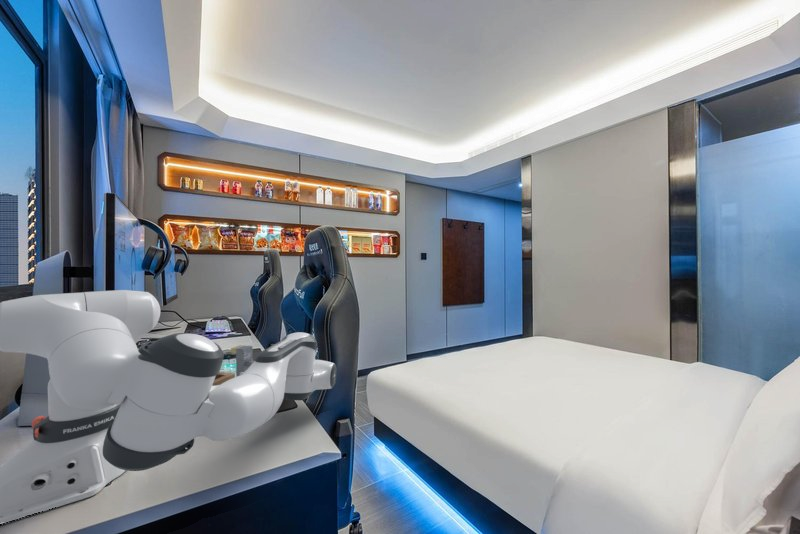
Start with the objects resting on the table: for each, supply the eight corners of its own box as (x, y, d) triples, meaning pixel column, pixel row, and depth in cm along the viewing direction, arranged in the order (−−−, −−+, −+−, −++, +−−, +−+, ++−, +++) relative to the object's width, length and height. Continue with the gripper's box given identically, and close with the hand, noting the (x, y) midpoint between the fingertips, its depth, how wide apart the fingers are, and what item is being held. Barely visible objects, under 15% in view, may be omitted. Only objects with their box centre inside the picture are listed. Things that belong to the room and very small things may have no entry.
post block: (240, 389, 112) (240, 372, 112) (213, 404, 100) (212, 385, 100) (213, 386, 115) (212, 370, 114) (182, 401, 103) (182, 382, 103)
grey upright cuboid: (253, 396, 106) (252, 346, 105) (244, 401, 102) (243, 349, 101) (240, 395, 107) (239, 345, 107) (231, 400, 103) (230, 348, 103)
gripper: (267, 395, 90) (227, 391, 94) (305, 371, 110) (271, 369, 113) (267, 373, 90) (227, 370, 93) (305, 353, 110) (271, 351, 113)
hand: (251, 369), depth 104 cm, fingers open, 8 cm apart
